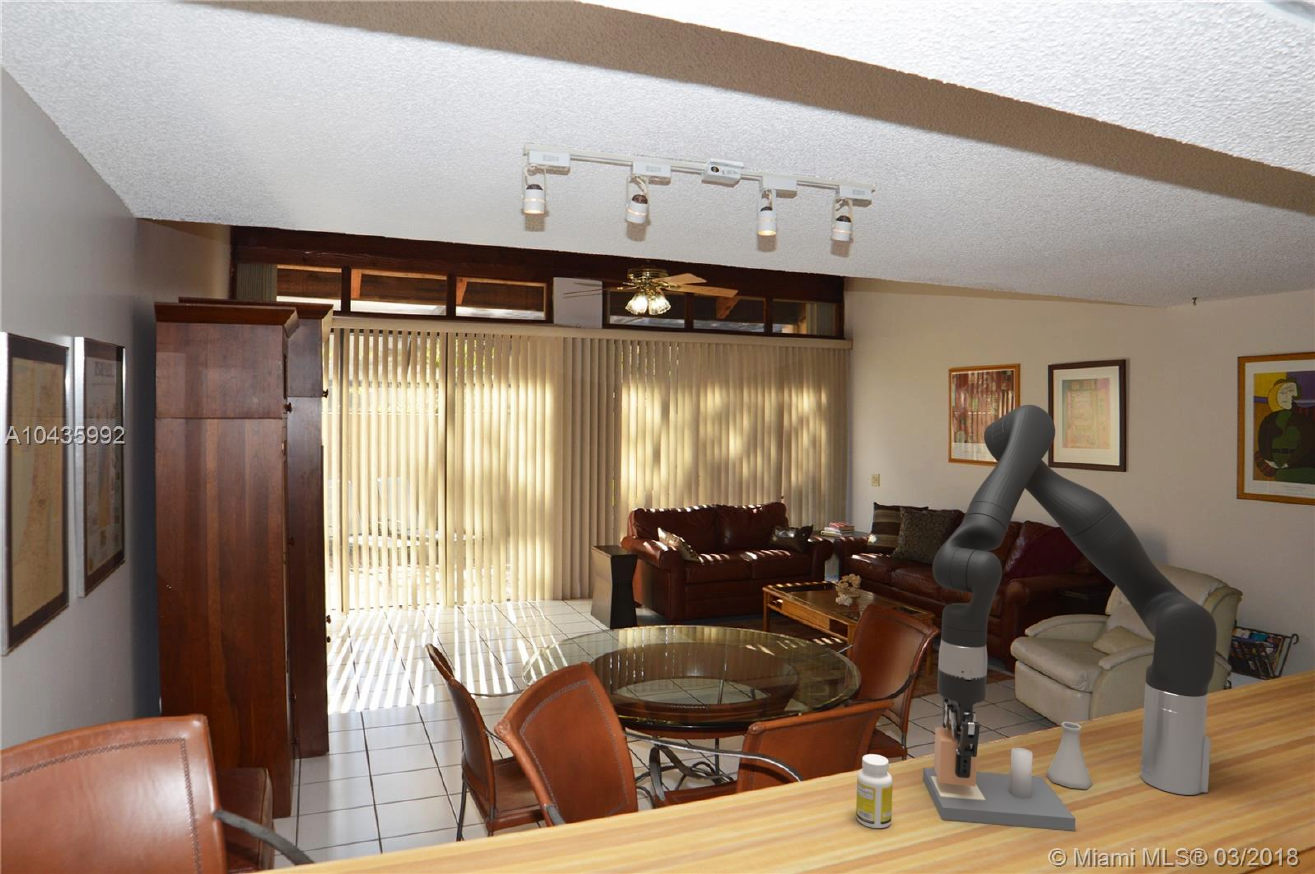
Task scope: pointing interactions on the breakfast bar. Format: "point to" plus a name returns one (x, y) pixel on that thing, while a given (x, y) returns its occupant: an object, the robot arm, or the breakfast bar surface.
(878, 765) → the supplement bottle
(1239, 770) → the breakfast bar surface
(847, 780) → the breakfast bar surface
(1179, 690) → the robot arm
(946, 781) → the slotted tan cube
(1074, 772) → the flask
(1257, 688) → the breakfast bar surface
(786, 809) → the breakfast bar surface
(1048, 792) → the post board
